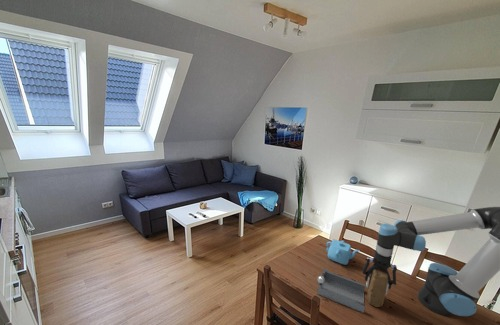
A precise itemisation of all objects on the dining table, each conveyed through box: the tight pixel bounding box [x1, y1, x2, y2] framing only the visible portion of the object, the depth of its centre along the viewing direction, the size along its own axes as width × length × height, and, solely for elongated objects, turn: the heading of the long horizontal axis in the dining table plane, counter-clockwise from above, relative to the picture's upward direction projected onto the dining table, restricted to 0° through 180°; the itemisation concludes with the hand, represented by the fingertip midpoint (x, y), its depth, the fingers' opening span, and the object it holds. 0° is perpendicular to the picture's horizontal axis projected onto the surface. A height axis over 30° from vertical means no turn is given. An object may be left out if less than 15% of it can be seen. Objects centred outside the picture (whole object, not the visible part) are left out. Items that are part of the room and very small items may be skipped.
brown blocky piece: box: [366, 268, 388, 308], centre depth 116 cm, size 11×8×20 cm
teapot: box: [326, 239, 361, 266], centre depth 151 cm, size 18×16×14 cm
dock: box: [317, 267, 366, 314], centre depth 121 cm, size 25×17×10 cm
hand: (376, 289), depth 116 cm, fingers open, 8 cm apart
